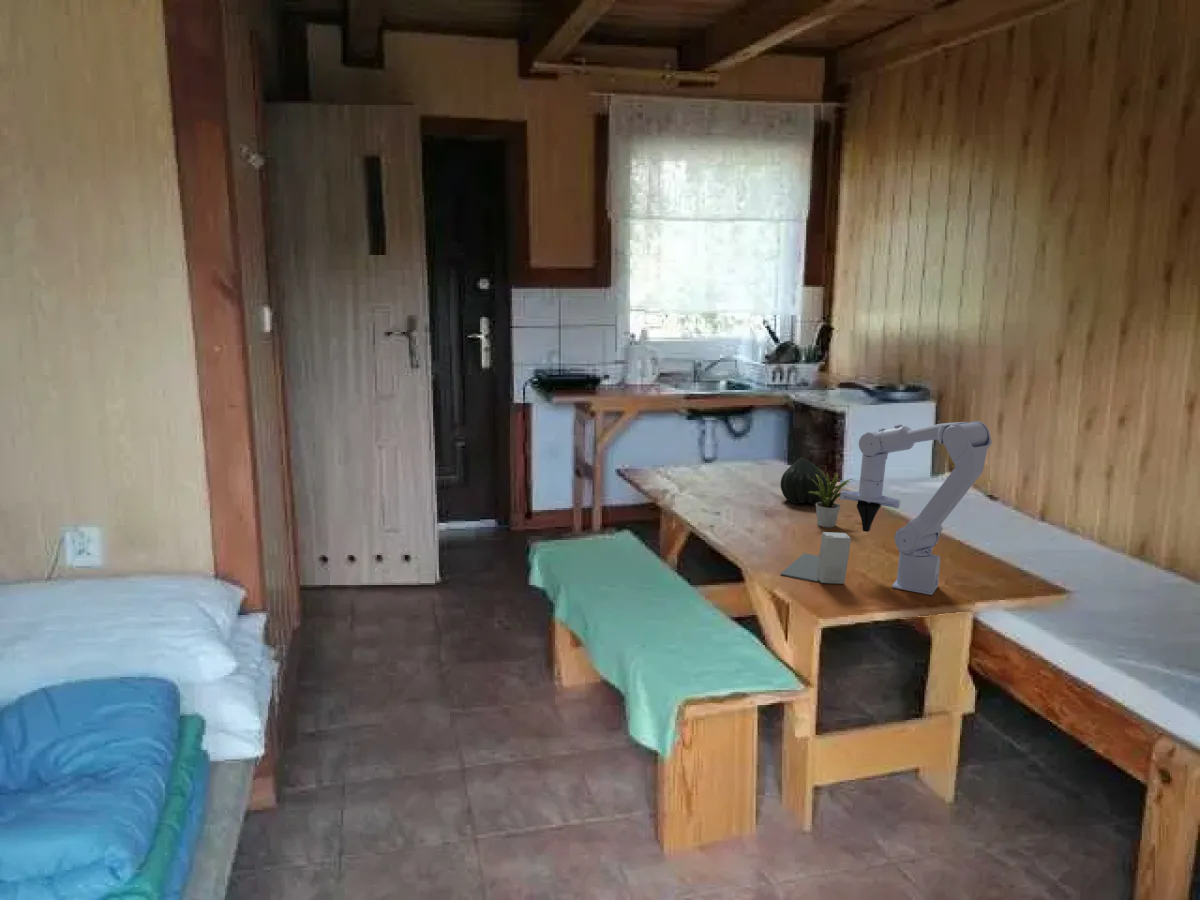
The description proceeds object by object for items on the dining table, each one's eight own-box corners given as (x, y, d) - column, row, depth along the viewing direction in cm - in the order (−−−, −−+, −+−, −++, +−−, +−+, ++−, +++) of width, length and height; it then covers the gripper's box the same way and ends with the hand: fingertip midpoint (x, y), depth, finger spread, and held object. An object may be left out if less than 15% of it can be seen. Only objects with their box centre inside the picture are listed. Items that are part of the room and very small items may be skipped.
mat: (839, 560, 245) (839, 559, 245) (817, 582, 229) (817, 580, 228) (803, 554, 250) (803, 553, 250) (780, 575, 233) (780, 573, 233)
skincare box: (838, 578, 232) (846, 532, 229) (845, 585, 227) (852, 538, 224) (814, 577, 231) (821, 530, 228) (820, 583, 227) (827, 536, 224)
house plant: (853, 535, 269) (858, 480, 265) (804, 531, 271) (809, 476, 268) (850, 521, 282) (855, 469, 279) (804, 517, 285) (808, 465, 282)
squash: (824, 495, 291) (828, 454, 298) (776, 492, 296) (781, 451, 303) (826, 515, 303) (830, 475, 310) (780, 512, 307) (785, 473, 314)
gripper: (904, 480, 234) (898, 531, 237) (847, 471, 241) (842, 521, 244) (898, 486, 228) (892, 538, 231) (840, 476, 235) (834, 528, 238)
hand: (866, 530), depth 237 cm, fingers closed
